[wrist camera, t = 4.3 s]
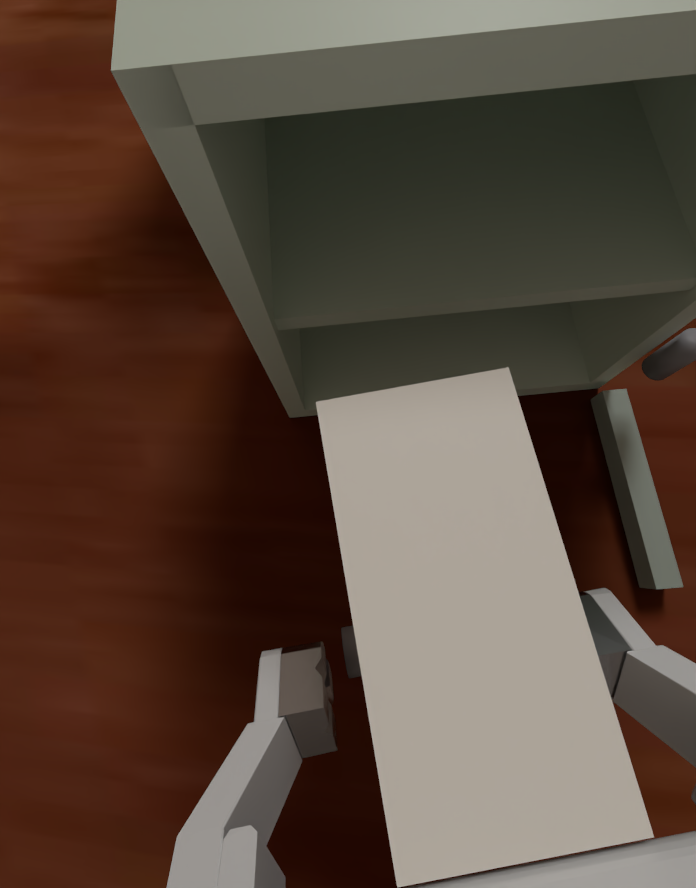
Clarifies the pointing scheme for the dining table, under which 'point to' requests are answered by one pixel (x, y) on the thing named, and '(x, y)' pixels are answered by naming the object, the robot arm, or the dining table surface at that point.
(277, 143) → the cabinet
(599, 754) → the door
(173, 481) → the dining table surface
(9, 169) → the dining table surface
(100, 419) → the dining table surface
